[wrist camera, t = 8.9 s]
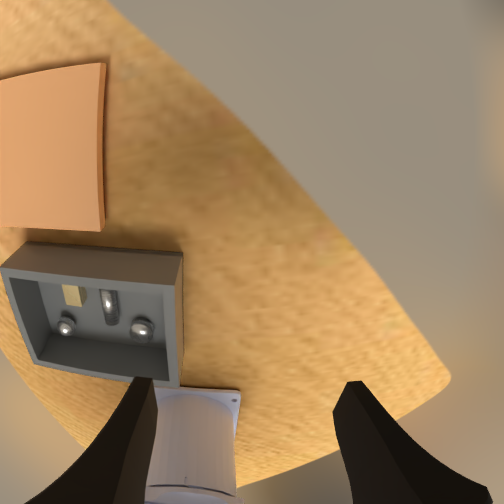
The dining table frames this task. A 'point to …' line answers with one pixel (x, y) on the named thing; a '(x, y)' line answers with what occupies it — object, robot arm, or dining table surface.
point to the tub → (99, 309)
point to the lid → (53, 149)
